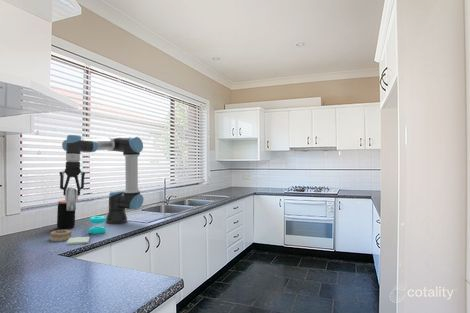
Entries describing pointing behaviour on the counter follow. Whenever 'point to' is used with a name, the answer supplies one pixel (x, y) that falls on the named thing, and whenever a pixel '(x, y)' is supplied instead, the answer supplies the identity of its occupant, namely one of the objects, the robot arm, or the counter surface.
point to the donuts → (97, 228)
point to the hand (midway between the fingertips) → (71, 201)
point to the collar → (60, 235)
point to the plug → (71, 199)
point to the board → (78, 240)
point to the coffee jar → (65, 216)
